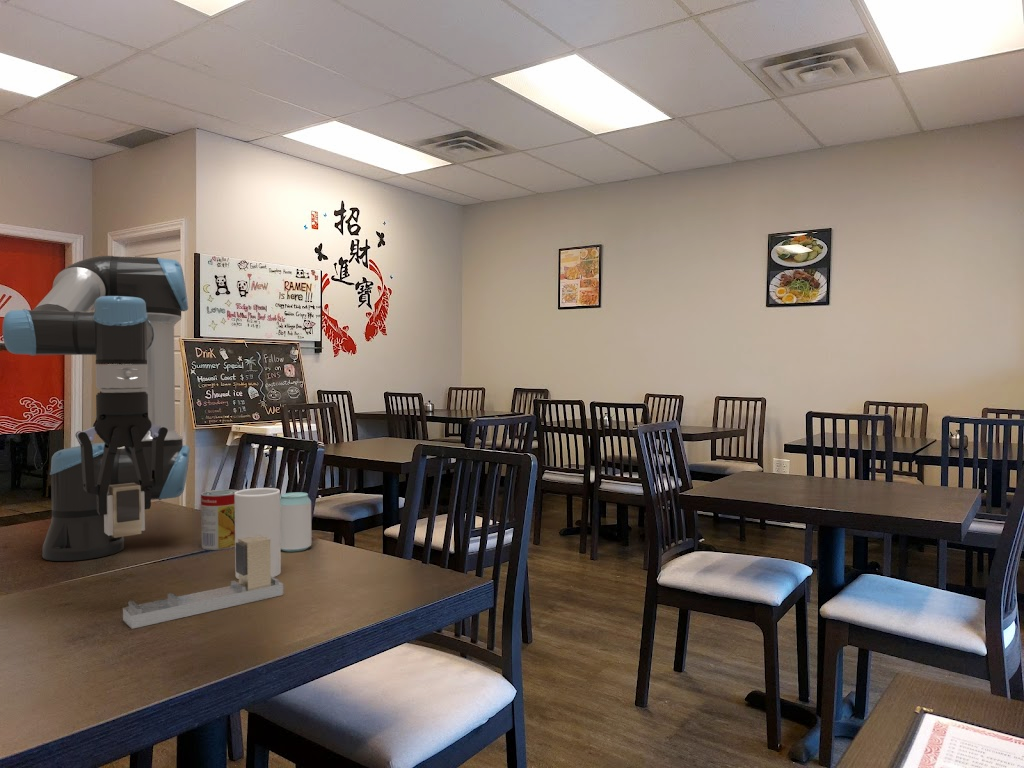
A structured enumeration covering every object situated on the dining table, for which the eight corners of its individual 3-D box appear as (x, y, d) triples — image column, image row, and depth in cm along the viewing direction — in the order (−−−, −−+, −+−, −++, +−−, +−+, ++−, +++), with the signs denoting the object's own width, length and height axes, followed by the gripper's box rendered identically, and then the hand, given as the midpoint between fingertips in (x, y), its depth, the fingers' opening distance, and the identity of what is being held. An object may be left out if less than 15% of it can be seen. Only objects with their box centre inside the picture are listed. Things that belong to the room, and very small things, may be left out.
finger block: (108, 533, 119) (107, 485, 118) (134, 529, 121) (133, 482, 121) (115, 538, 115) (114, 489, 115) (142, 534, 118) (141, 486, 118)
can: (306, 552, 153) (305, 497, 153) (273, 552, 153) (272, 497, 153) (315, 544, 160) (314, 491, 160) (284, 544, 160) (283, 491, 160)
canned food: (246, 542, 163) (246, 490, 163) (225, 550, 155) (224, 495, 155) (216, 540, 165) (215, 488, 164) (193, 549, 157) (193, 494, 157)
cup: (266, 581, 132) (265, 495, 132) (226, 579, 134) (225, 494, 134) (288, 569, 140) (287, 488, 140) (250, 567, 142) (250, 487, 142)
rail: (123, 620, 112) (122, 556, 112) (271, 588, 128) (270, 533, 128) (131, 628, 108) (130, 563, 108) (283, 594, 124) (282, 537, 124)
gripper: (66, 393, 109) (70, 544, 110) (184, 390, 120) (186, 527, 121) (57, 391, 115) (60, 535, 115) (170, 388, 126) (172, 519, 127)
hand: (124, 531), depth 118 cm, fingers closed on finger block, 4 cm apart
